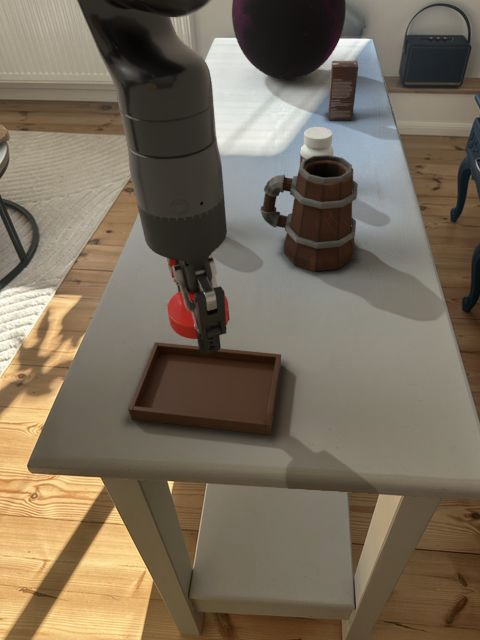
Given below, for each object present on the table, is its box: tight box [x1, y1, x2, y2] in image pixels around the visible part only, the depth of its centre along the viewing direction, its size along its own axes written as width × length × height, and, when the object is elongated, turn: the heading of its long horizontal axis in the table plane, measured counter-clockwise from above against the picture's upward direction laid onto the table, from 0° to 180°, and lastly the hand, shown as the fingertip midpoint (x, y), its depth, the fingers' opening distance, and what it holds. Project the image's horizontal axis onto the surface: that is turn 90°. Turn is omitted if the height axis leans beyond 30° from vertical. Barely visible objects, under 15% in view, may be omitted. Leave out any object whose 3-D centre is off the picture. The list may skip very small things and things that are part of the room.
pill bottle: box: [299, 126, 334, 166], centre depth 92 cm, size 6×6×11 cm
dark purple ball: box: [231, 0, 347, 80], centre depth 128 cm, size 30×30×30 cm
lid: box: [166, 291, 231, 340], centre depth 52 cm, size 6×6×2 cm
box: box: [327, 60, 359, 121], centre depth 115 cm, size 6×4×12 cm
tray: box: [127, 341, 282, 436], centre depth 61 cm, size 17×11×2 cm, turn 82°
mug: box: [259, 155, 359, 272], centre depth 77 cm, size 16×12×15 cm
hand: (200, 328), depth 53 cm, fingers closed on lid, 6 cm apart
